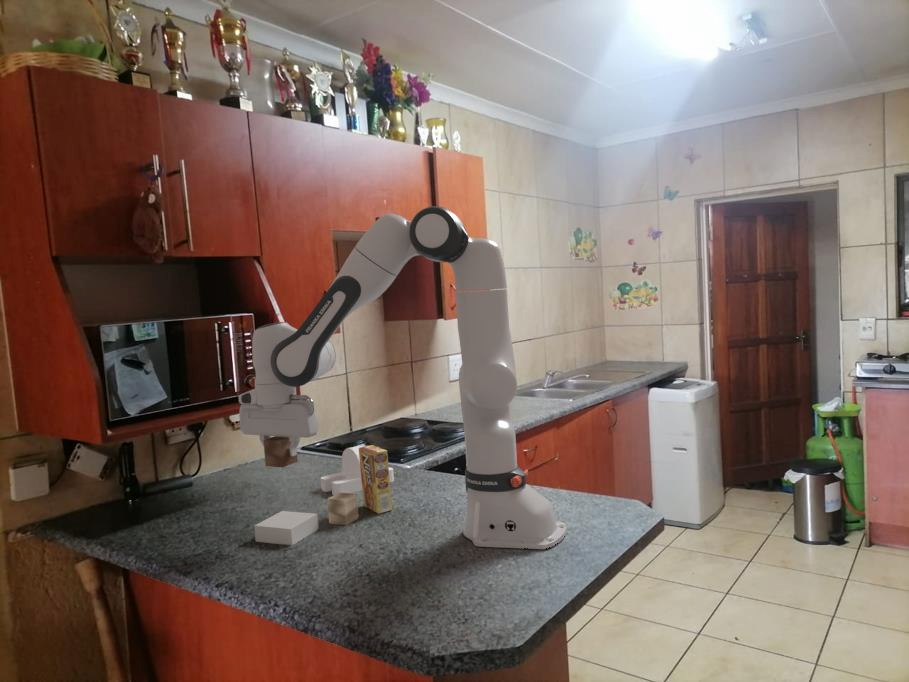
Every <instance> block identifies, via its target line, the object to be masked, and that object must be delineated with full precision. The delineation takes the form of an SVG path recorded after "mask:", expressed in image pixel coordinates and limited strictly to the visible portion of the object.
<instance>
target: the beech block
mask: <svg viewBox="0 0 909 682" xmlns="http://www.w3.org/2000/svg"><path fill="white" fill-rule="evenodd" d="M357 495H358V494H357V493H351V494H350V493H338V494H336V495H332V496H330V497H328V498H327V499H326V501H327V502H326V503H327V513H328V524H332V525H342V526H347V525H350V524H351V523H353V522H354V521H356V520H358V519H359V507H358V506H359V505H358V496H357Z"/></svg>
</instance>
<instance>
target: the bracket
mask: <svg viewBox="0 0 909 682" xmlns="http://www.w3.org/2000/svg"><path fill="white" fill-rule="evenodd" d="M360 447H364V446H362V445H356V446H353V447H346V448H345V449H344V450H343V452H342V455H341V471H340V472H336V473H333V474H329V475H328V474H327V475H325V476H321V477H320V488H321V489H320V490H321V491H322V492H324V493H327V492H331V493H332V494H331V495H332V496H334V495H336V494H338V493H350V494H355V493H356V492H360V491H362V480H361V469H360V458H359V448H360ZM389 478H390V483H393V482H394V481H395V477H394V468H393V467H389Z"/></svg>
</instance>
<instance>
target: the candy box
mask: <svg viewBox="0 0 909 682" xmlns="http://www.w3.org/2000/svg"><path fill="white" fill-rule="evenodd" d="M388 457H389V453H388V450H387V449H384V448H382V447H379V446H376V445H373V444H372V445H365V446H363V447H360V448H359V458H360V469H361V480H362V490H361V491H362V500H363V502H362V503H363V506H364V507H366V508H368V509H370V511H372V512H374V513H377V514H383V513H386V512H390V511H392V510H393V507H392V504H393V503H392V491H391V490H392V489H391V482H390V478H389V458H388Z"/></svg>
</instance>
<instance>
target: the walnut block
mask: <svg viewBox="0 0 909 682" xmlns="http://www.w3.org/2000/svg"><path fill="white" fill-rule="evenodd" d="M263 441H264V446H263V450H264V451H263V452H264V453H263V454H264V463H265V467H271V468H272V467H273V468H274V467H275V468H285V467H288V466H290V465H292V464H295V463H297V462H299V461H298V454H297V455H295V456H287V450H286V449H287V448H289V447H290V444H291V441H289V437H285V436H271V438H268V439H265V440H263Z"/></svg>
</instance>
